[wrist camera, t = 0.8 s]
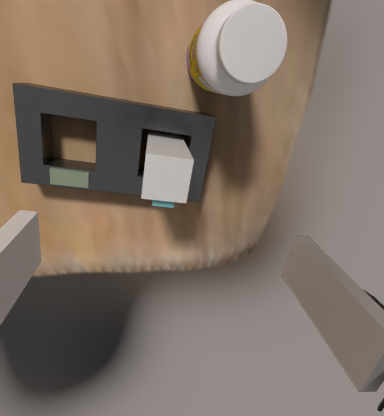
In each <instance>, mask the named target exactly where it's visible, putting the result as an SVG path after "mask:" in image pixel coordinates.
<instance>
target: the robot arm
mask: <svg viewBox="0 0 384 416" xmlns="http://www.w3.org/2000/svg"><path fill="white" fill-rule="evenodd" d="M40 262H41V251H40V235H39V220H38V212H34V211H23V210H19V211H18V212H17V213H16V214H15V215H14V216H13V217H12V218H11V219H10V220H9V221H8V222H7V223H5V224H4V225H3V226H2V227H1V228H0V325H1V323H2V322H3V320H4V319H5V317H6V315H7V314H8V312H9V311H10V309H11V308H12V306H13V305H14V303H15V301H16V300H17V298H18V297H19V295H20V293H21V292H22V290H23V289H24V287H25V286H26V284H27V283H28V281H29V280H30V278H31V276H32V275H33V273H34V272H35V270H36V269H37V267H38V266H39V264H40ZM282 277H283V279H284V280H285V282H286V283H287V285H288V286H289V288H290V289H291V291H292V292H293V294H294V295H295V297H296V298H297V300H298V301H299V303H300V304H301V306H302V307H303V309H304V310H305V312H306V313H307V315H308V316H309V318H310V319H311V321H312V322H313V324H314V325H315V327H316V328H317V330H318V331H319V333H320V334H321V336H322V337H323V339H324V340H325V342H326V344H327V345H328V346H329V348H330V349H331V351H332V353H333V354H334V355H335V357H336V359H337V360H338V361H339V363H340V365H341V366H342V368H343V369H344V371H345V372H346V373H347V375H348V377H349V378H350V380H351V381H352V383H353V384H354V386H355V387H356V389H357V390H358V392H373V391H377V390H378V388H379V387H380V385H381V384H382V382H383V381H384V306H383V305H382V304H381V303H380V302H379V301H378V300H377V299H376V298H375V297H374V296H372V295H371V294H369V293H368V292H366V291H365V290H363V289H362V288H361V287H360V286H359V285H358V284H357V283H356V282H354V281H353V279H352V278H351V277H349V276H348V275H347V274H346V273H345V272H344V271H343V270H342V269H341V268H340V267H339V266H338V265H337V264H336V263H335V262H334V261H333V260H332V259H331V258H330V257H329V256H328V255H327V254H326V253H325V252H324V251H323V250H322V249H321V248H320V247H319V246H318V245H317V244H316V243H315V242H314V241H313V240H312V239H311V238H310V237H307V236H296V238H295V241H294V243H293V246H292V249H291V252H290V254H289V257H288V260H287V262H286V265H285V268H284V271H283V273H282ZM383 408H384V399H383V400H382V402H381V403H380V404H379V406H378V410H379V411H382V410H383Z"/></svg>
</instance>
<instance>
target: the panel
mask: <svg viewBox="0 0 384 416" xmlns="http://www.w3.org/2000/svg"><path fill="white" fill-rule="evenodd" d="M13 93H14V104H15V115H16V126H17V137H18V149H19V160H20V171H21V182H23V183H32V184H41V185H50V186H59V187H68V188H77V189H86V190H96V191H105V192H114V193H123V194H132V195H142V186H143V176H144V169H139V163H140V152H141V142H142V131H143V128H144V129H150V130H157V131H163V132H170V133H176V134H183V135H188V138H187V147H188V149H189V151H190V153H191V155H192V157H193V159H194V163H193V168H192V174H191V180H190V185H189V191H188V196H187V201H196V202H200V196H201V191H202V186H203V181H204V176H205V171H206V166H207V161H208V156H209V151H210V146H211V141H212V136H213V131H214V126H215V121H216V117H214V116H212V115H210V114H204V113H198V112H192V111H187V110H181V109H175V108H169V107H163V106H157V105H152V104H146V103H140V102H134V101H128V100H123V99H117V98H111V97H105V96H99V95H94V94H88V93H82V92H76V91H70V90H65V89H59V88H53V87H47V86H41V85H36V84H30V83H13ZM51 114H54V115H60V116H67V117H73V118H79V119H86V120H92V121H97V137H96V163H90V162H82V161H74V160H66V159H58V158H53V153H52V127H51Z"/></svg>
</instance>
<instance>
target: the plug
mask: <svg viewBox="0 0 384 416" xmlns="http://www.w3.org/2000/svg"><path fill="white" fill-rule="evenodd" d="M193 163H194V159H193V157H192V155H191V153H190V151H189V149H188V147H187V145H186V143H185V141H184V139H183V137H182V136H176V135H170V134H163V133H157V132H150V131H149V132H148V140H147V148H146V156H145V166H144V176H143V186H142V195H141V199H150V200H152V206H159V207H169V208H174V202H178V203H186V202H187V196H188V191H189V185H190V180H191V174H192V168H193Z"/></svg>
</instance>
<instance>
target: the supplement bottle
mask: <svg viewBox="0 0 384 416" xmlns="http://www.w3.org/2000/svg"><path fill="white" fill-rule="evenodd" d="M286 48H287V32H286V27H285V25H284V22H283V20H282V18H281V16H280V15H279V14H278V12H277V11H276V10H274V9H273V8H271V7H270V6H268V5H266V4H262V3H258V2H256V1H253V0H231V1H228V2H226V3H224V4H222V5H221V6H219V7H218V8H216V9H215V10H214V11H213V12H212V13H211V14H210V16H209V17H208V18H207V19H206V20H205V22H204V23H203V24H202V25H201V26H200V27H199V29H198V30H197V31H196V32H195V34H194V35H193V37H192V38H191V40H190V43H189V46H188V50H187V66H188V70H189V73H190V75H191V77H192V79H193V80H194V81H195V83H196V84H197V85H199V86H200V87H201V88H203V89H204V90H207V91H209V92H214V93H219V94H223V95H228V96H243V95H247V94H250V93H252V92H254V91H256V90H257V89H259V88H260V87H261V86H262V85H264V84H265V83H266V82H267V80H268V79H269V78H270V77H271V75H272V74H273V73H274V72H275V71H276V70H277V69H278V67H279V66H280V64H281V62H282V61H283V58H284V56H285V52H286Z"/></svg>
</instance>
